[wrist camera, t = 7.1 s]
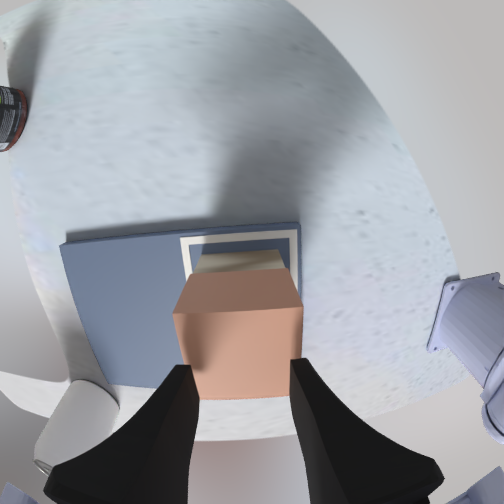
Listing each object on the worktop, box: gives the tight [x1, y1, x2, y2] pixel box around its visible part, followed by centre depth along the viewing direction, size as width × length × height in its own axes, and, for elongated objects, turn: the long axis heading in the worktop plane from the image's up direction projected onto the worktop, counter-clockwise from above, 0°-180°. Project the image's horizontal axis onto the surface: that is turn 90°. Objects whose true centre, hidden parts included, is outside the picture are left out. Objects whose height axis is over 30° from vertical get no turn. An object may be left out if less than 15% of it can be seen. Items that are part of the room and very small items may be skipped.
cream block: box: [193, 249, 285, 274], centre depth 17 cm, size 5×5×4 cm
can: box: [33, 380, 119, 476], centre depth 18 cm, size 6×6×12 cm
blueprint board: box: [59, 222, 301, 388], centre depth 20 cm, size 18×14×1 cm
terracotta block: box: [172, 268, 304, 400], centre depth 13 cm, size 5×5×4 cm
